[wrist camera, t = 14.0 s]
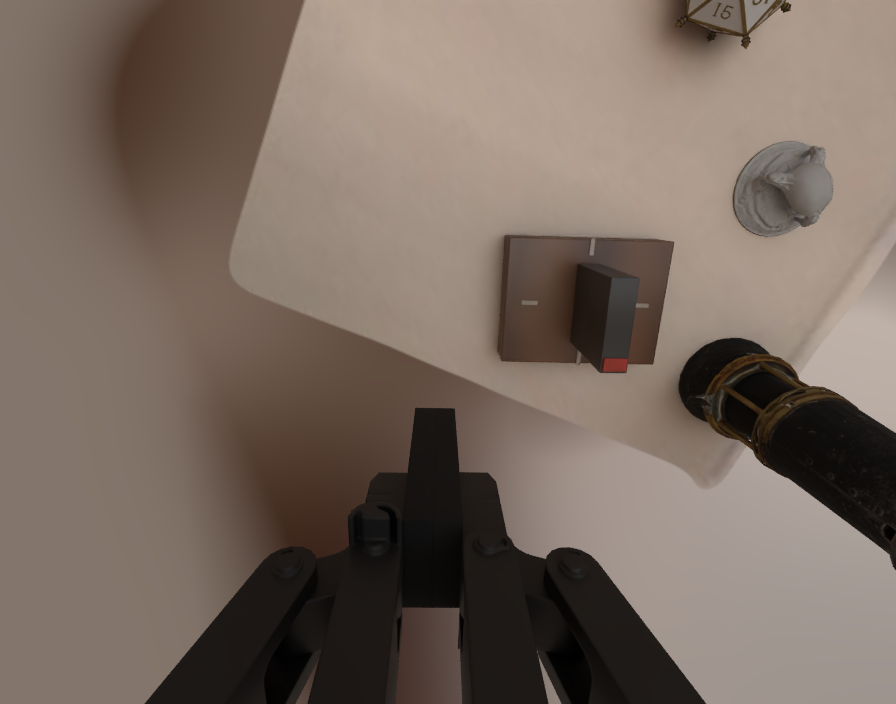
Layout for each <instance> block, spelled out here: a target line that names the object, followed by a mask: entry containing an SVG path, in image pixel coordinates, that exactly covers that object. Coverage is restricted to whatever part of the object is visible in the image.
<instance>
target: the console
mask: <svg viewBox="0 0 896 704" xmlns="http://www.w3.org/2000/svg"><path fill="white" fill-rule="evenodd" d="M673 247H674V242H672V241H665V240H658V239H624V238H588V237H553V236H517V235H505V243H504V259H503V274H502V290H501V305H500V321H499V337H498V353H499V356H500V358H501V361H512V362H560V363H576V365H580V363H590V362H589V361H588V360H587V359H586V358H585V357H584V356H583V355H582V354H581V353H580V352H579V351H578V350H577V349H576V348H575V347H574V346H573V344H572V343H571V342H570V338H571V328H572V319H573V309H574V299H575V289H576V279H577V270H578V264H602V265H605V266H608V267H610V268H613V269H616V270H619V271H622V272H624V273H627V274H630V275H633V276H636V277H638V278H640V281H639V288H638V295H637V302H636V309H635V316H634V322H633V329H632V336H631V343H630V350H629V357H628V364H653V362H654V356H655V350H656V344H657V339H658V333H659V327H660V321H661V316H662V310H663V304H664V298H665V293H666V287H667V281H668V275H669V270H670V264H671V258H672V252H673Z"/></svg>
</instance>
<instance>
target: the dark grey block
mask: <svg viewBox="0 0 896 704" xmlns="http://www.w3.org/2000/svg"><path fill="white" fill-rule="evenodd" d="M639 281H640V278H638V277H636V276H633V275H630V274H627V273H624V272H622V271H619V270H616V269H613V268H610V267H608V266H605V265H602V264H578V270H577V279H576V289H575V299H574V309H573V319H572V328H571V338H570V342H571V343H572V344H573V346H574V347H575V348H576V349H577V350H578V351H579V352H580V353H581V354H582V355H583V356H584V357H585V358H586V359H587V360H588V361H589V362H590V363H591V364H592V365H593V366H594V367H595V368H596V369H597V370H598V371H599V372H600V373H626V371H627V364H628V357H629V350H630V343H631V336H632V329H633V322H634V316H635V309H636V302H637V295H638V288H639Z"/></svg>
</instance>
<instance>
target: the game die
mask: <svg viewBox="0 0 896 704" xmlns="http://www.w3.org/2000/svg"><path fill="white" fill-rule="evenodd" d="M785 1H786V0H686V10H685V16H684V17H681V18H680V19H679V20H677V23H676V25H675V27H682V25H684V24H685V22H686V21H687V20H688V21H690V22H692V23H695V24H697V25H699V26H701V27H703V28H705V29H707V30H710V31H712V32H711V33H709V36H708V37H707V38H708V41H709V42H710V41H712V40H714V39H715V37H716V33H722V34H728V35H735V36H742V37H743V39H742V41H741V42H742V44H741V46H743V47H744V48H745V49H747V47H748V45H749V43H750V42H751V41H750V38H749V36H748V35H749V34H750V33H751V32H752V31H753V30H754V29H755V28H757V27H758V26H759V25H760V24H761V23H762V22H764V21H765V20H766V19H767V18H768V17H770V16H771V15H772V14H773V13H774V12H775V11H777V10H778V9H779V8H780V7H781V11H782V10H783V13H784V12H787V11H791V4H789V3H785Z"/></svg>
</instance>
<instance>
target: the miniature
mask: <svg viewBox="0 0 896 704" xmlns="http://www.w3.org/2000/svg"><path fill="white" fill-rule="evenodd" d="M825 159H826V153H825V149H824V148H823V147H821V148H819V147H816V146H812V147H810V146H809V145H806V144H804V143H800V142H793V141H789V142H781V143H777V144H774V145H771V146H769V147H767V148H765V149H764V150H762V151H761V152H759V153H758V154H757V155H755V156H754V157H753V158H752V159H751V160H750V161H749V162H748V163H747V165H746V166H745V167H744V169H743V170H742V172H741V174H740V176H739V178H738V180H737V183H736V186H735V190H734V199H733V200H734V209H735V213H736V215H737V218H738V219H739V221H740V222H741V224H742V225H743V226H744V227H745V228H746V229H748V230H749V231H751V232H753V233H755V234H758V235H763V236H777V235H782V234H785V233H788V232H790V231H792V230H794V229H796V228H797V227H799V226H800V225H801V226H802V227H807V226H809V225H811V224H814V223H816V222H817V219H818V218H819V215H820V214H821V212H822V211H823V210H824V209H825V207H826V206H827V205H828V204H829V202H830V201H831V199H832V196H833V181H832V177H831V175H830V173H829V171H828V170H827V169H826V168H825V165H824V162H825Z"/></svg>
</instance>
